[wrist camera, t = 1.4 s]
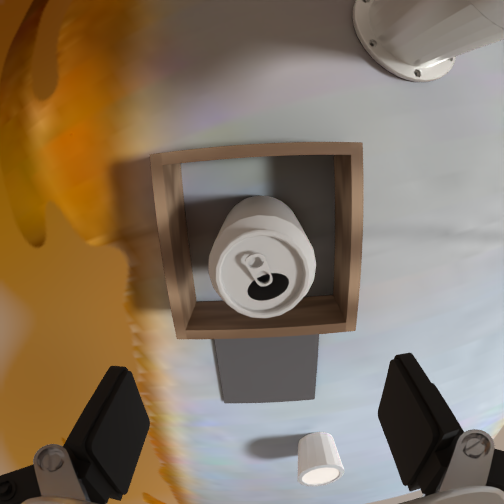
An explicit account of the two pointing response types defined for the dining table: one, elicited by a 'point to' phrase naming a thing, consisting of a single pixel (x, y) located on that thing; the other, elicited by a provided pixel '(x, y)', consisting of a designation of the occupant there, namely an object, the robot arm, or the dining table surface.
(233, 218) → the can
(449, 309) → the dining table surface
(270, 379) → the mat
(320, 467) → the shot glass
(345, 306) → the crate
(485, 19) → the robot arm
